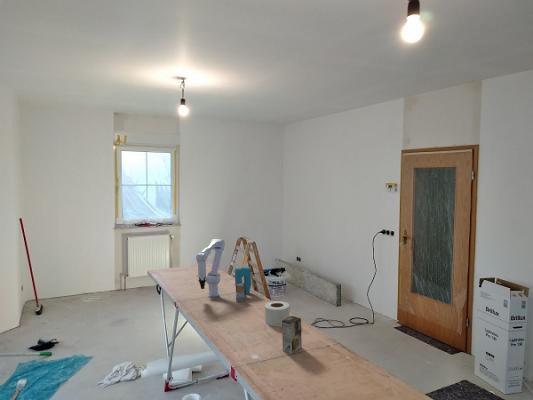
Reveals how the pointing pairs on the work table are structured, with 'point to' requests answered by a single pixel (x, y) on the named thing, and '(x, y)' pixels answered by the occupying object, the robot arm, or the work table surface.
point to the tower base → (240, 299)
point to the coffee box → (291, 334)
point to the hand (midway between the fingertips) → (202, 287)
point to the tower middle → (239, 294)
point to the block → (247, 278)
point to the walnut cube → (240, 288)
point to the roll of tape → (276, 313)
